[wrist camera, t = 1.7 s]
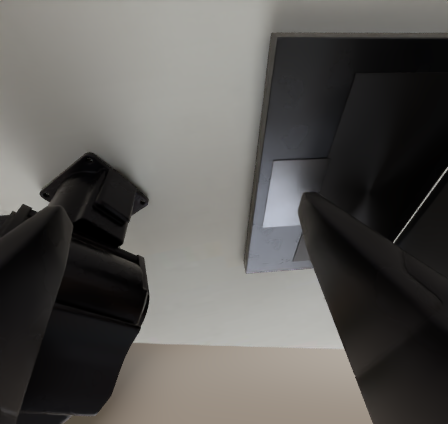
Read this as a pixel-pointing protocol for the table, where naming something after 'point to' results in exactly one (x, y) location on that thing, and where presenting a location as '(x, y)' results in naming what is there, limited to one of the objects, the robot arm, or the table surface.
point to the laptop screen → (429, 230)
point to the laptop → (346, 135)
